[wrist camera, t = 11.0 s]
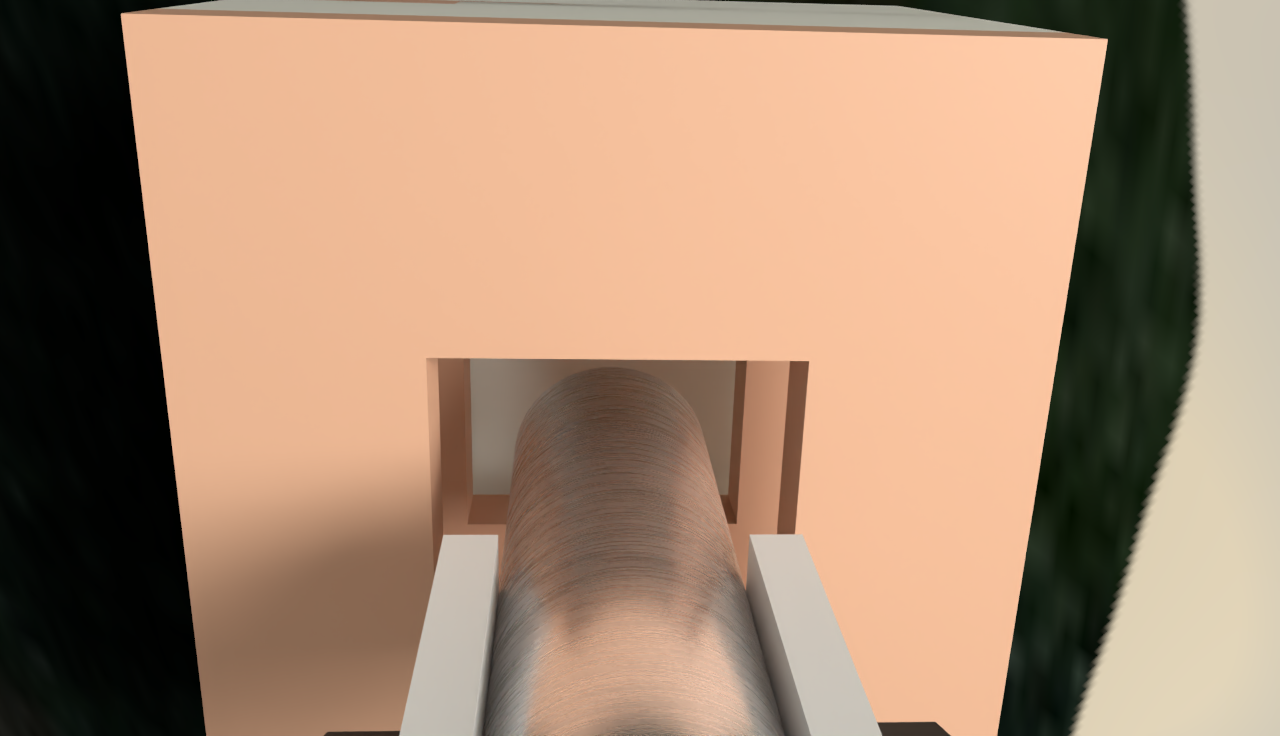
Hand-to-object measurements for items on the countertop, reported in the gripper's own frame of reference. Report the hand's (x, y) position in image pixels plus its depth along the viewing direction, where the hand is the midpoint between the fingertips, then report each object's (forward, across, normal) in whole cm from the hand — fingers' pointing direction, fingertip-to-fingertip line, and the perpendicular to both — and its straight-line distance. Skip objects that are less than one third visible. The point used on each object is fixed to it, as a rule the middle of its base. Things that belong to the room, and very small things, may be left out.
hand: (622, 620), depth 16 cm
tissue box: (+14, 0, 0) cm, 14 cm away
